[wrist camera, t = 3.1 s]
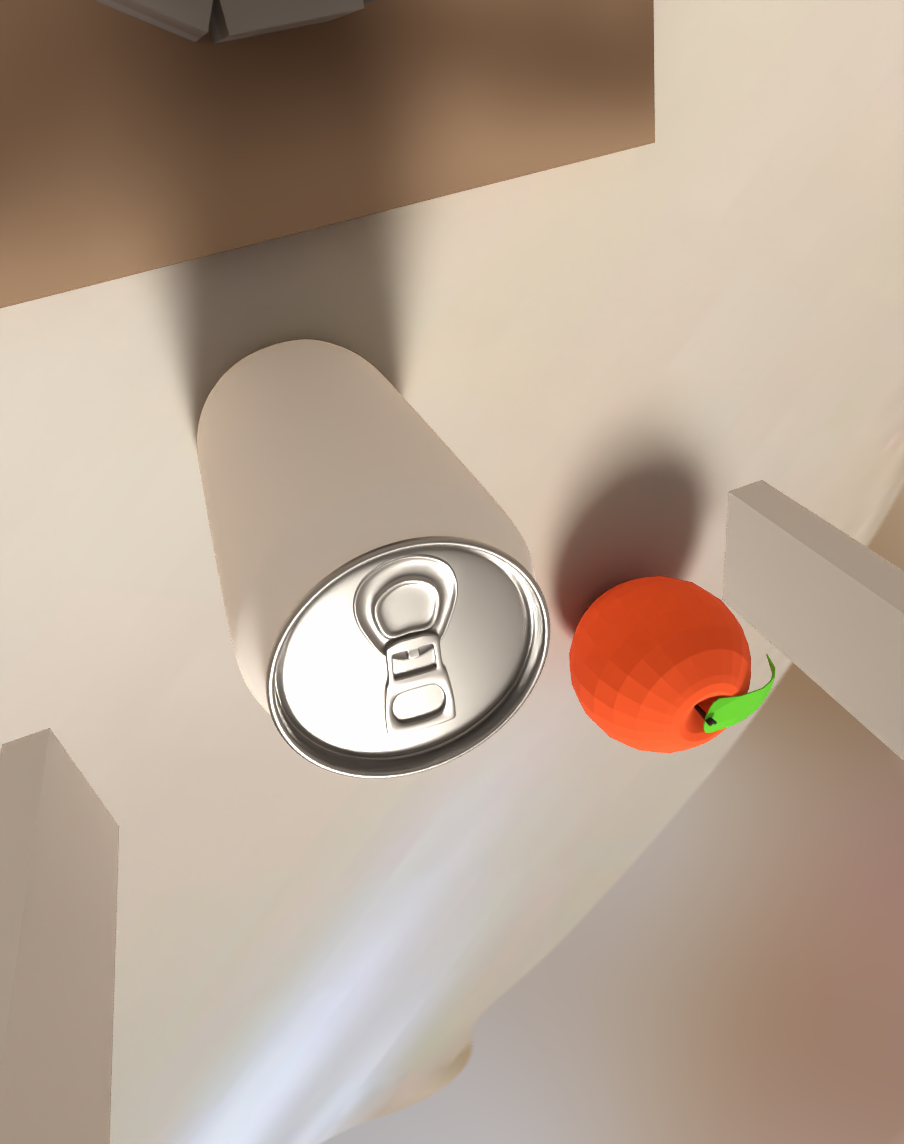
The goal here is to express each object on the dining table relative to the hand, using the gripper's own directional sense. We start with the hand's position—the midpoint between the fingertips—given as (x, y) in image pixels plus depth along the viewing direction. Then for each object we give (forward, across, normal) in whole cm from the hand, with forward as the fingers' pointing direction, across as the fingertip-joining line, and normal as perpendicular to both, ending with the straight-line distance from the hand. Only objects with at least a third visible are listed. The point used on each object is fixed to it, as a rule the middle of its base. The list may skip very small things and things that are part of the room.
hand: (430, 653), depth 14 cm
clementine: (+12, -10, +12) cm, 20 cm away
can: (+12, 0, 0) cm, 12 cm away
